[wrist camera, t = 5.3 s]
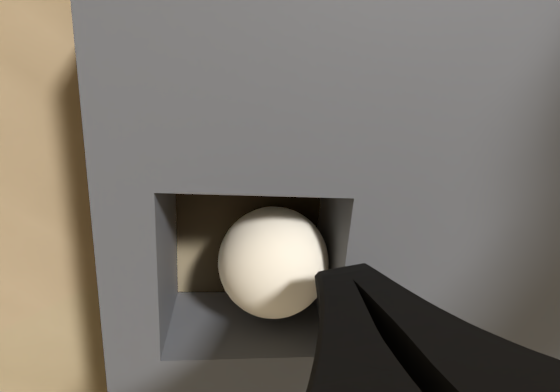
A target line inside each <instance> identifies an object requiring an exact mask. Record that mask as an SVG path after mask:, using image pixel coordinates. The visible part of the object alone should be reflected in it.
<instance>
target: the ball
mask: <svg viewBox="0 0 560 392" xmlns="http://www.w3.org/2000/svg"><path fill="white" fill-rule="evenodd" d="M328 266H329V259H328V252H327V247H326V244H325V241H324V239H323V237H322V235H321V233H320V232H319V230H318V229H317V228H316V226H315V225H314V224H313V223H312V222H311V221H310V220H309V219H307V218H306V217H305V216H303V215H302V214H300V213H298V212H296V211H294V210H291V209H288V208H283V207H263V208H259V209H256V210H253V211H251V212H249V213H247V214H245V215H244V216H242V217H241V218H240V219H238V220H237V221H236V222H235V223H234V224H233V225H232V226H231V227H230V229H229V230H228V231H227V233H226V235H225V236H224V239H223V241H222V243H221V246H220V250H219V256H218V270H219V276H220V279H221V282H222V285H223V287H224V289H225V291H226V293H227V294H228V296H229V297H230V298H231V300H232V301H233V302H234V303H235V304H236V305H237V306H239V307H240V308H241V309H243V310H244V311H246V312H248V313H250V314H252V315H254V316H257V317H261V318H268V319H280V318H285V317H289V316H292V315H295V314H297V313H299V312H301V311H302V310H304V309H305V308H307V307H308V306H309V305H310V304H311V303H312V302H313V301H314V300H315V299H316V298H317V292H316V284H315V275H316V274H317V273H318V271H324V270H328Z"/></svg>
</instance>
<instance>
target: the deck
mask: <svg viewBox="0 0 560 392" xmlns="http://www.w3.org/2000/svg"><path fill="white" fill-rule="evenodd" d="M71 10H72V21H73V31H74V42H75V53H76V63H77V74H78V84H79V95H80V106H81V116H82V127H83V137H84V148H85V159H86V169H87V180H88V191H89V201H90V212H91V222H92V233H93V244H94V254H95V265H96V275H97V286H98V297H99V307H100V318H101V329H102V339H103V350H104V360H105V371H106V382H107V392H306V389H307V386H308V382H309V378H310V374H311V370H312V365H313V361H314V356H315V350H316V343H317V336H318V329H319V308H318V300H317V298H316V299H315V300H314V301H313V302H312V303H311V304H310V305H309V306H308V307H307V308H305V309H304V310H302V311H301V312H299V313H297V314H295V315H292V316H289V317H285V318H280V319H268V318H261V317H257V316H254V315H252V314H250V313H248V312H246V311H244V310H243V309H241V308H240V307H239V306H237V305H236V304H235V303H234V302H233V301H232V300H231V298H230V297H229V296H228V294H227V293H226V292H178V282H177V229H176V194H208V195H244V196H280V197H316V198H320V207H319V216H318V226H317V229H318V230H319V232H320V233H321V235H322V237H323V239H324V241H325V244H326V247H327V252H328V259H329V266H328V270H329V269H335V268H340V267H345V266H351V265H356V264H362V263H366V264H367V265H369V266H371V267H372V268H374V269H376V270H377V271H379V272H380V273H382V274H383V275H385V276H387V277H388V278H390V279H391V280H393V281H395V282H396V283H398V284H399V285H401V286H403V287H404V288H406V289H408V290H409V291H411V292H413V293H414V294H416V295H418V296H419V297H421V298H423V299H424V300H426V301H428V302H430V303H432V304H433V305H435V306H437V307H439V308H441V309H443V310H445V311H447V312H448V313H450V314H452V315H454V316H456V317H458V318H460V319H462V320H464V321H466V322H468V323H470V324H472V325H474V326H477V327H479V328H481V329H483V330H485V331H488V332H490V333H492V334H495V335H497V336H499V337H502V338H504V339H506V340H509V341H511V342H513V343H516V344H518V345H521V346H524V347H526V348H529V349H531V350H534V351H537V352H539V353H542V354H545V355H548V356H551V357H554V358H556V359H559V360H560V0H71Z"/></svg>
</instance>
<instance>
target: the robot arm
mask: <svg viewBox="0 0 560 392" xmlns="http://www.w3.org/2000/svg"><path fill="white" fill-rule="evenodd" d="M315 284H316V292H317V300H318V308H319V329H318V336H317V343H316V350H315V356H314V361H313V365H312V370H311V374H310V378H309V382H308V386H307V389H306V392H560V360H559V359H556V358H554V357H551V356H548V355H545V354H542V353H539V352H537V351H534V350H531V349H529V348H526V347H524V346H521V345H518V344H516V343H513V342H511V341H509V340H506V339H504V338H502V337H499V336H497V335H495V334H492V333H490V332H488V331H485V330H483V329H481V328H479V327H477V326H474V325H472V324H470V323H468V322H466V321H464V320H462V319H460V318H458V317H456V316H454V315H452V314H450V313H448V312H447V311H445V310H443V309H441V308H439V307H437V306H435V305H433V304H432V303H430V302H428V301H426V300H424V299H423V298H421V297H419V296H418V295H416V294H414V293H413V292H411V291H409V290H408V289H406V288H404V287H403V286H401V285H399V284H398V283H396V282H395V281H393V280H391V279H390V278H388V277H387V276H385V275H383V274H382V273H380V272H379V271H377V270H376V269H374V268H372V267H371V266H369V265H367V264H366V263H362V264H356V265H351V266H345V267H340V268H335V269H329V270H324V271H318V273H317V274H316V275H315Z"/></svg>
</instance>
